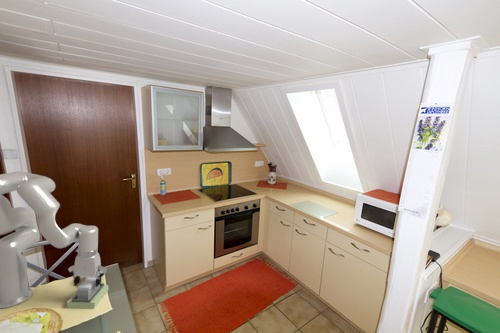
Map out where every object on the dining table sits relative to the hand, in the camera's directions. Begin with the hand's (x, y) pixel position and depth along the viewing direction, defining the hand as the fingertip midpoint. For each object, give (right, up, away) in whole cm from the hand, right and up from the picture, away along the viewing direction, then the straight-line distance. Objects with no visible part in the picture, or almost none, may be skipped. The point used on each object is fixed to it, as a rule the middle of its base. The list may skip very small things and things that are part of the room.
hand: (87, 284), depth 109 cm
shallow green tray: (0, -8, +1) cm, 8 cm away
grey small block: (0, -5, +1) cm, 5 cm away
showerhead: (-6, -6, +13) cm, 15 cm away
